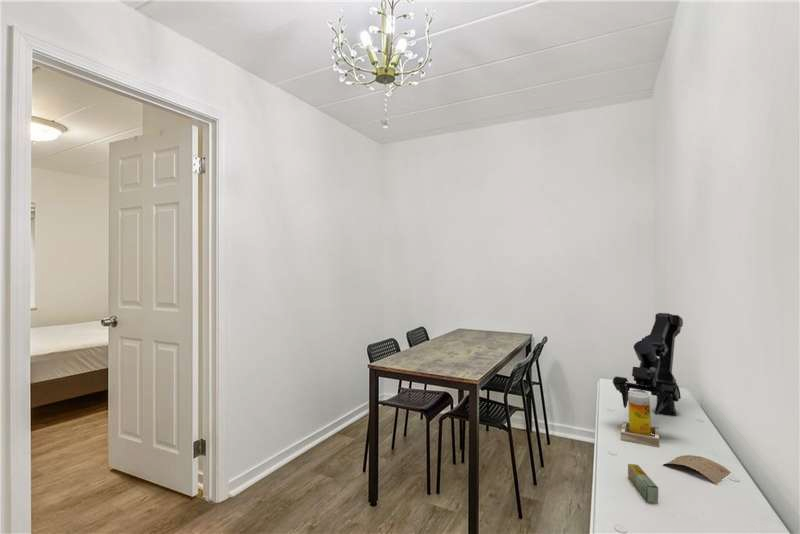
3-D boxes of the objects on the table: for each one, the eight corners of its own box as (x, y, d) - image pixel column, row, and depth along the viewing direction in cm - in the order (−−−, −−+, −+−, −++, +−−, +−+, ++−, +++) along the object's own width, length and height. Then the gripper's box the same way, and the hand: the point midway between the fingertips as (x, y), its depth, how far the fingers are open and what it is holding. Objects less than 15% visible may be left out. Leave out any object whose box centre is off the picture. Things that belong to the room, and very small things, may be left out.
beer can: (644, 442, 126) (642, 396, 126) (625, 436, 132) (624, 391, 132) (655, 438, 129) (653, 392, 129) (636, 432, 135) (634, 388, 135)
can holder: (623, 429, 137) (623, 421, 138) (659, 435, 132) (659, 427, 132) (621, 440, 129) (620, 432, 129) (659, 447, 123) (658, 439, 123)
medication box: (659, 504, 94) (659, 487, 94) (646, 503, 94) (646, 486, 94) (638, 478, 106) (637, 463, 106) (627, 477, 106) (627, 462, 106)
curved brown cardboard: (659, 466, 112) (659, 457, 112) (675, 456, 118) (675, 447, 118) (721, 489, 100) (721, 478, 100) (736, 476, 106) (736, 466, 106)
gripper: (613, 353, 141) (602, 391, 134) (675, 361, 128) (667, 404, 120) (621, 371, 147) (612, 408, 139) (682, 380, 133) (675, 422, 125)
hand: (639, 410), depth 131 cm, fingers open, 9 cm apart
